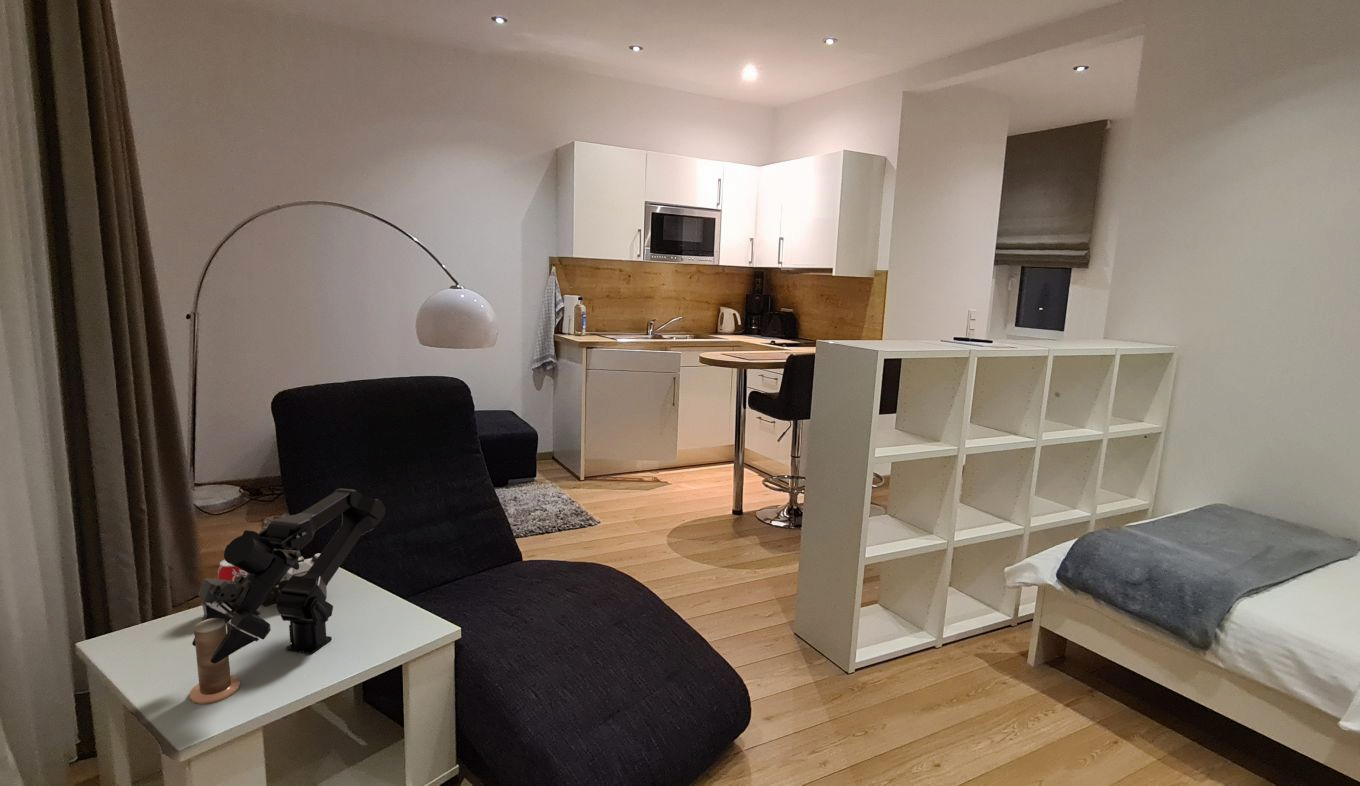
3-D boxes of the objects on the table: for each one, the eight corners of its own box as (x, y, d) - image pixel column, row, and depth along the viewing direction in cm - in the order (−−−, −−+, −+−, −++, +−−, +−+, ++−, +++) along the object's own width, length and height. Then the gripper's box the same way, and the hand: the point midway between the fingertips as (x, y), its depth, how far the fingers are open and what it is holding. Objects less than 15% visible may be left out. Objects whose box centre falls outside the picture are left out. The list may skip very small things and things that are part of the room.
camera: (272, 623, 164) (271, 586, 161) (257, 599, 171) (257, 563, 168) (337, 603, 174) (338, 568, 171) (321, 582, 181) (321, 547, 178)
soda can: (227, 618, 163) (223, 569, 161) (215, 609, 167) (211, 561, 165) (260, 607, 168) (256, 560, 166) (247, 599, 172) (244, 552, 170)
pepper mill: (237, 681, 137) (231, 619, 135) (215, 696, 132) (209, 632, 130) (215, 678, 138) (210, 616, 136) (193, 692, 133) (186, 628, 131)
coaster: (249, 682, 138) (249, 679, 138) (214, 706, 130) (214, 702, 130) (215, 676, 140) (215, 673, 139) (179, 700, 132) (178, 696, 132)
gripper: (208, 549, 139) (147, 621, 133) (247, 575, 128) (182, 655, 121) (255, 573, 147) (199, 643, 140) (295, 600, 135) (236, 677, 129)
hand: (203, 654), depth 132 cm, fingers open, 9 cm apart
